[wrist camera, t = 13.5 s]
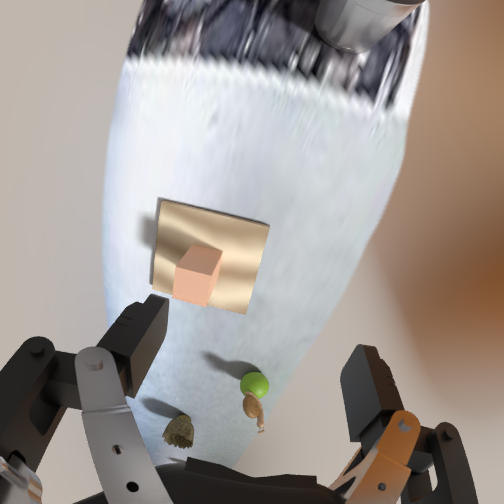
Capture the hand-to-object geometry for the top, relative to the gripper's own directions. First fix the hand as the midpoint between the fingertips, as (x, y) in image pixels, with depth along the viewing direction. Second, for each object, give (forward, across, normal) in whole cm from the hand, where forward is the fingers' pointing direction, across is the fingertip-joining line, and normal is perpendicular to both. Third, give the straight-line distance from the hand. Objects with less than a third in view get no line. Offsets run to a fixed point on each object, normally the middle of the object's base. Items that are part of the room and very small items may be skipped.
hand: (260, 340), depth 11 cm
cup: (+29, +7, +56) cm, 64 cm away
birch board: (+30, +7, +12) cm, 33 cm away
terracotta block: (+29, +7, +12) cm, 32 cm away
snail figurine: (+30, -6, +34) cm, 46 cm away
